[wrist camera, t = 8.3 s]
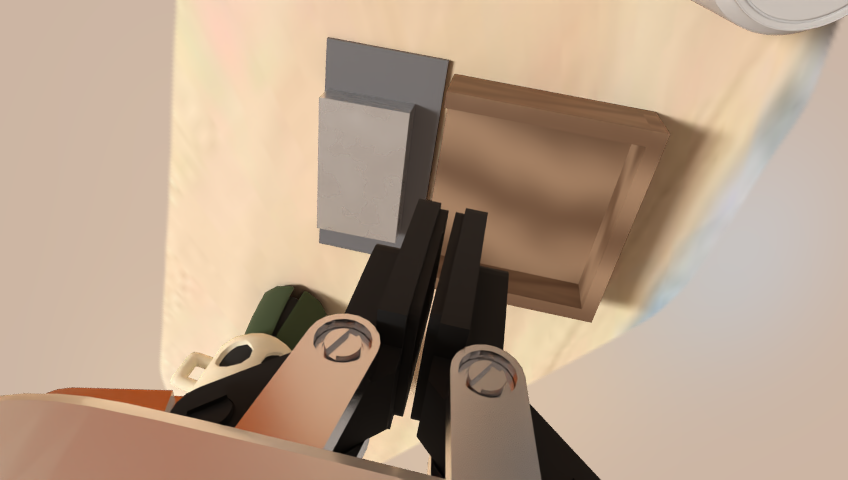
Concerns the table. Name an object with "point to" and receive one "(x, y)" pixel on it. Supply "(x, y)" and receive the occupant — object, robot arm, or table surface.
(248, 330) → the character mug
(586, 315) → the walnut box
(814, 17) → the beverage can
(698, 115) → the table surface
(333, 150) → the concrete block
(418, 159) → the gray mat
